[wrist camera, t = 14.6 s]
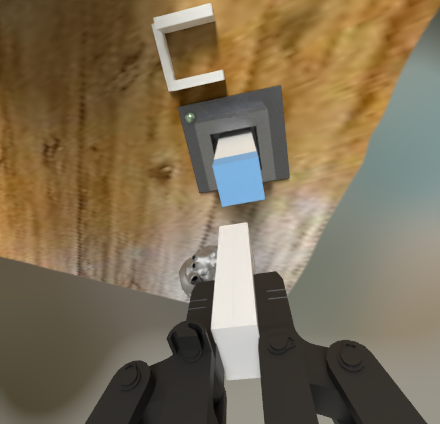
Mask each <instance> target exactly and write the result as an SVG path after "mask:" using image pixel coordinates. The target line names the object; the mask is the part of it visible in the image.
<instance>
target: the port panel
mask: <svg viewBox="0 0 440 424" xmlns="http://www.w3.org/2000/svg"><path fill="white" fill-rule="evenodd" d="M178 110H179V114H180V118H181V122H182V126H183V130H184V134H185V138H186V142H187V146H188V150H189V154H190V157H191V161H192V165H193V169H194V173H195V177H196V181H197V185H198V189H199V193H202V192H208V191H214V190H218V187H217V183H216V179H215V175H214V171H213V167H212V166H213V161H214V157H215V153H216V148H217V144H218V139H219V135H220V133H225V132H230V131H234V130H239V129H243V128H248V127H250V129H251V133H252V136H253V140H254V143H255V147H256V151H257V154H258V158H259V164H260V171H261V177H262V182H267V181H273V180H279V179H285V178H290V176H289V165H288V154H287V144H286V133H285V122H284V112H283V101H282V90H281V85H278V86H273V87H269V88H264V89H259V90H255V91H250V92H245V93H241V94H236V95H231V96H226V97H222V98H217V99H212V100H208V101H203V102H198V103H193V104H189V105H184V106H179V107H178Z"/></svg>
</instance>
